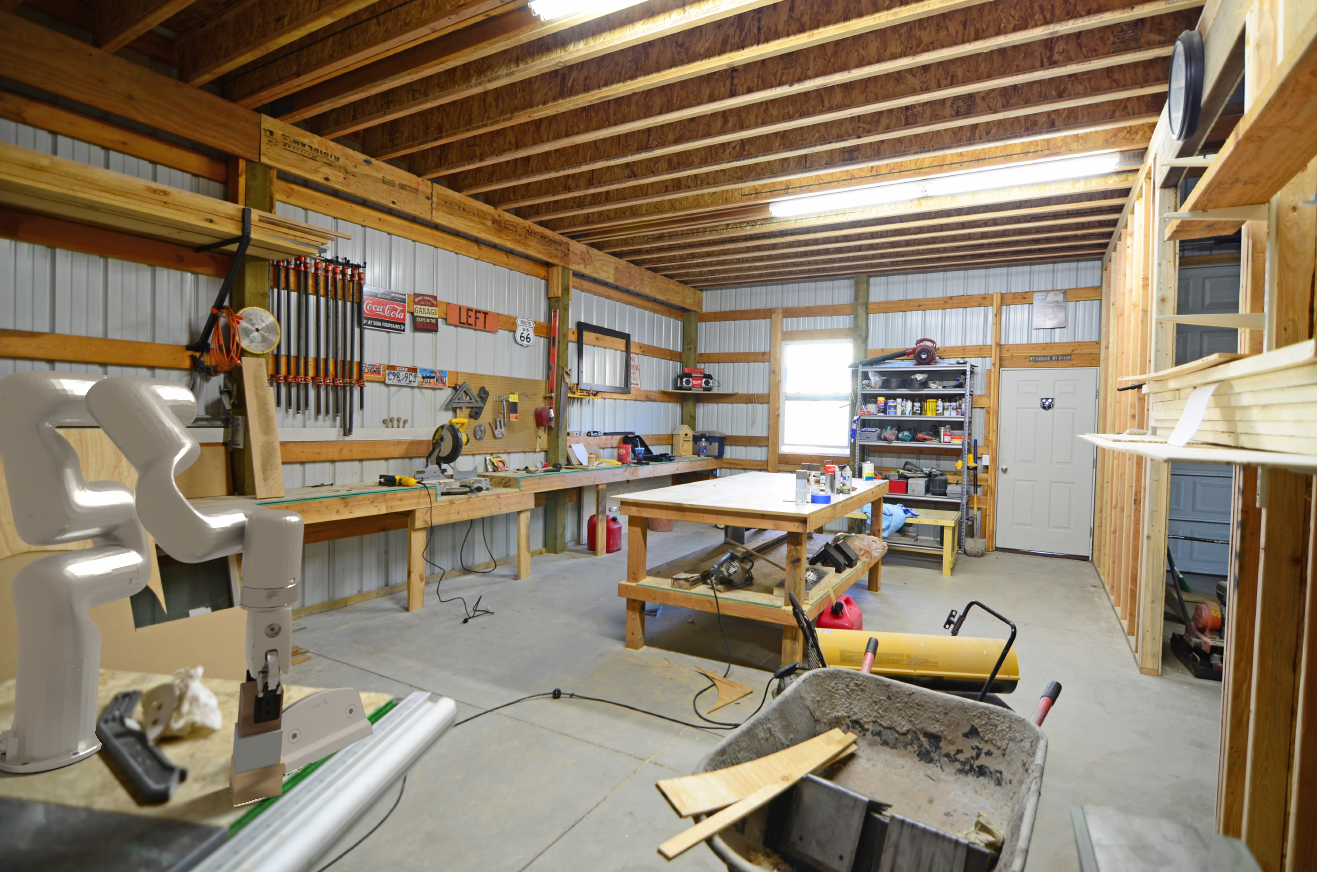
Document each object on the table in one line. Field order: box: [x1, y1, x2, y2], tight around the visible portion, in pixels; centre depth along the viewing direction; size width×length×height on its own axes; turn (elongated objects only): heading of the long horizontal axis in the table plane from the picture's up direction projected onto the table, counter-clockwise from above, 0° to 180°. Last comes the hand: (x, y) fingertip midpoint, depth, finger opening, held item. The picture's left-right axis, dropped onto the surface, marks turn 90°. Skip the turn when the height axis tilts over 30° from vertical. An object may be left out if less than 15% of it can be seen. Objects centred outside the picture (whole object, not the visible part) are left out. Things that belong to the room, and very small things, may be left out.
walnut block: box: [237, 679, 285, 738], centre depth 93 cm, size 5×5×6 cm
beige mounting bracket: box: [281, 687, 374, 774], centre depth 106 cm, size 17×5×10 cm, turn 154°
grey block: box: [232, 721, 283, 774], centre depth 93 cm, size 6×6×5 cm
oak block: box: [228, 753, 284, 807], centre depth 93 cm, size 6×6×5 cm
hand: (261, 706), depth 93 cm, fingers open, 9 cm apart
